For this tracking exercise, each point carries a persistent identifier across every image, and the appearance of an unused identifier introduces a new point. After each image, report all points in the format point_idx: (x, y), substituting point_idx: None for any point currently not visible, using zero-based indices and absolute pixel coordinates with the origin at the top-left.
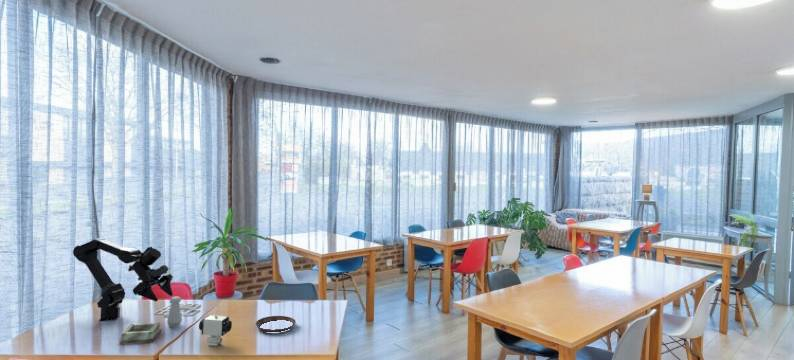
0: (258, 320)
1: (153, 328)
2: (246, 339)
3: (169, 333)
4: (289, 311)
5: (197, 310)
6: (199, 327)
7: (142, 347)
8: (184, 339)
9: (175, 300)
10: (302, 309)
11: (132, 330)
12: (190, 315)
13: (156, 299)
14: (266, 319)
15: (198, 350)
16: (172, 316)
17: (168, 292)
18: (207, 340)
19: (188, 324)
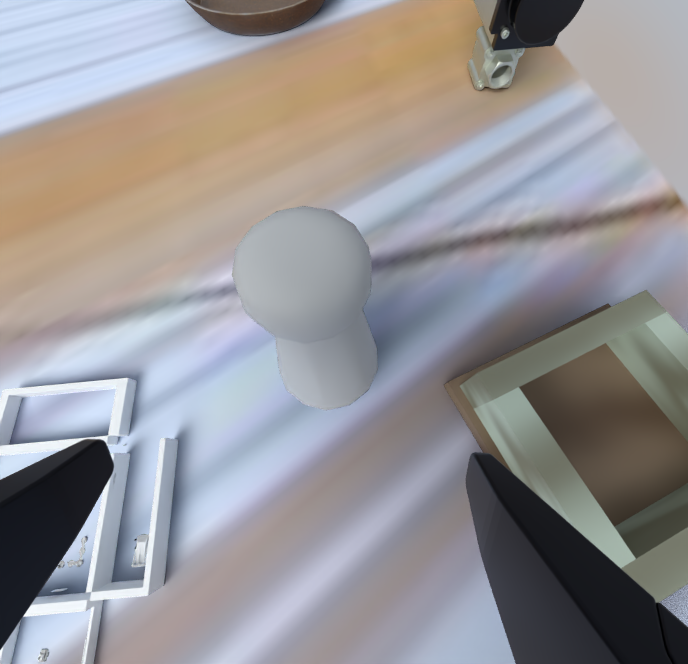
0: (247, 13)
1: (597, 328)
2: (398, 25)
3: (454, 312)
4: (60, 26)
5: (28, 392)
6: (576, 10)
7: (684, 312)
8: (493, 197)
9: (357, 232)
10: (36, 3)
11: (623, 535)
12: (132, 383)
13: (502, 471)
14: (209, 16)
15: (563, 94)
16: (370, 331)
17: (40, 542)
18: (514, 71)
19: None
